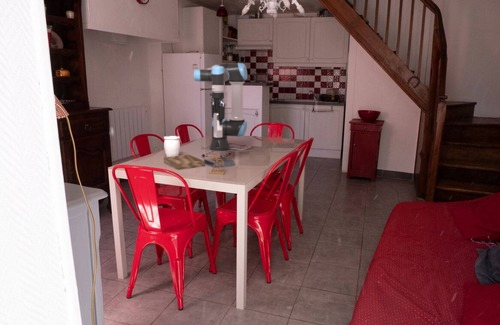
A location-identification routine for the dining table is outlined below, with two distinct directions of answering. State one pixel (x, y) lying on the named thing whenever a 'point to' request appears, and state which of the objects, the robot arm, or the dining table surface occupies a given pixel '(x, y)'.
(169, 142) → the jar
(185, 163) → the tray
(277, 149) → the dining table surface
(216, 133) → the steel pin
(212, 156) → the tan ornamental figurine
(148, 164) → the dining table surface
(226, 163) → the hitch block
